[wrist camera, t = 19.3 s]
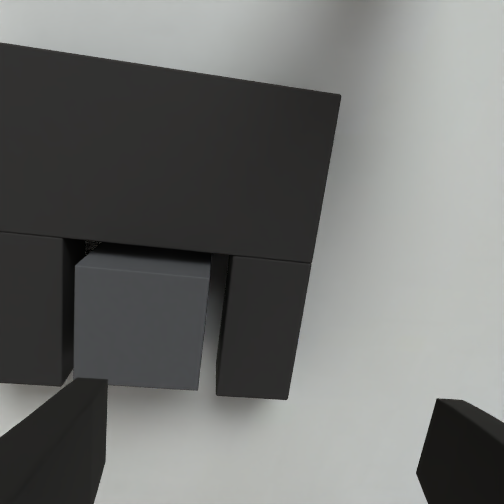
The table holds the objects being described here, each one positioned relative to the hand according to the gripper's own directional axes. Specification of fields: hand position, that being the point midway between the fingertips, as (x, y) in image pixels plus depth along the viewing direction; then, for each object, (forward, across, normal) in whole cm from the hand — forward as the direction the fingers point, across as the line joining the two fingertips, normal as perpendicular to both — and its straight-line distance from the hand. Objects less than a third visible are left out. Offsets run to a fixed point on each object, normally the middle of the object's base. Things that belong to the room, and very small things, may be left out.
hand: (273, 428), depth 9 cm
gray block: (+9, +4, +1) cm, 10 cm away
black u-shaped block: (+9, +4, -2) cm, 10 cm away
